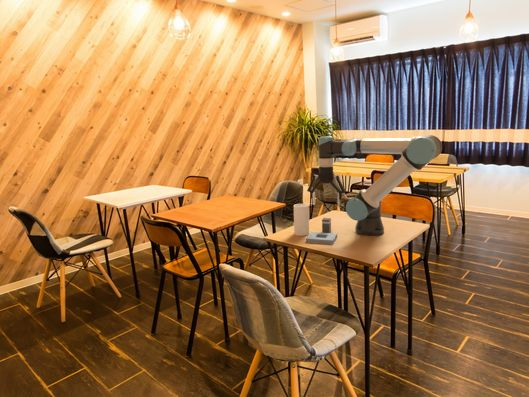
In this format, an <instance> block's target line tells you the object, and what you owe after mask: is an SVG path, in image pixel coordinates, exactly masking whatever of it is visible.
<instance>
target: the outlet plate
mask: <svg viewBox="0 0 529 397" xmlns="http://www.w3.org/2000/svg"><path fill="white" fill-rule="evenodd" d="M337 239H338V232H337V233H336V232H333V233H332V232H331V233H322V231H321V232H320V231H311V232H309V234H308V235H306V237H305V243H309V244H310V243H312V244H324V245H326V244H327V245H334V243H335V242H336V240H337Z"/></svg>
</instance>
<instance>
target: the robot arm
mask: <svg viewBox="0 0 529 397" xmlns="http://www.w3.org/2000/svg"><path fill="white" fill-rule="evenodd" d="M317 146H318V166H319V167H318V174H313V175H312V179H311V182H310V184H309V186H308V187H307V190H306V192H309V193H310V199H312V205H313V206H315V205H316V192H315V191H316V190H317V188H318V187H319V186H320V185H321V183H322V184H323V185H324V184H330V185H331V186H332V187H333V188H334V189H335V190H336V192H337V207H340V206H341V201H342V199H343V194H344V193H346V189H345V187H344V184H343V183H342V181H341V179H340V174H337V175H336V174H335V175H334V166H333V165H334V156H347V157H348V156H355V154H385V155H386V154H387V155H390V154H391V155H400V156H401V157H400V158H399V159H397V161H396V162H394V164H393V165H391V166H390V167H389V168H388V169H387V170H386V171H385V172H383V174H381V175H380V177H379V178H378V179H376V180H375V181H374V182H373V183H372V184H370V186H369V187H367V189H365V188H364V189H360V190H359V191H358V193H356V195H355V196H354V197H353V198H352V197H351V198H350V199H349V200H348V201H347V202H346V204H345V212H346V215H347V216H348V217H349V218H350V219H352V220H353V221H356V224H355V233H356V234H360V235H362V236H363V235H364V236H378V235H382V234H384V232H385V226H384V224H383V221H382V218H381V217H382V200H383V199H384V198H386V196H388V195H389V194H390V193H391V192H392V191H393V190H394V189H395V188H396V187H398V186H399V185H400V184H401V183H402V182H403V181H405V179H407V178H408V177H409V176H410V175H411V174H412V173H414V172H415V171H421V170H423V168H424V167H425V166H426V165H428V164H429V163H430V162H431V161H432V160H434V159H436V158H438V157H439V155H440V154H441V153H442V151H443V144H442V141H441V140H440V138H439V137H437V136H435V135H433V134H427V135H422V136H421V135H420V136H413V137H412V138H358V137H357V138H356V137H355V138H351V139H349V138H348V139H343V140H335V139H334V137H333V136H327V135H326V136H320V137H319V138H318V145H317ZM317 179H318V180H319V181H318V182H317V183H316V185H315V186H314V184H315V181H316V180H317ZM334 179H335V180H336V181H337V184H338V185H337V184H336V183H335V181H334ZM313 186H314V187H313Z"/></svg>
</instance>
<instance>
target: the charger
mask: <svg viewBox="0 0 529 397" xmlns="http://www.w3.org/2000/svg"><path fill="white" fill-rule="evenodd" d="M321 224H322V225H321V228H322V230H321V232H322V233H332V218H331V217H323V218H322V219H321Z"/></svg>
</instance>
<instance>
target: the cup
mask: <svg viewBox="0 0 529 397" xmlns="http://www.w3.org/2000/svg"><path fill="white" fill-rule="evenodd" d="M309 207H310V205H309V204H307V203H296V204H294V205H293V228H294V229H293V230H294V235H295V236H301V237H302V236H303V237H304V236H308V235H309V234H310V208H309Z"/></svg>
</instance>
